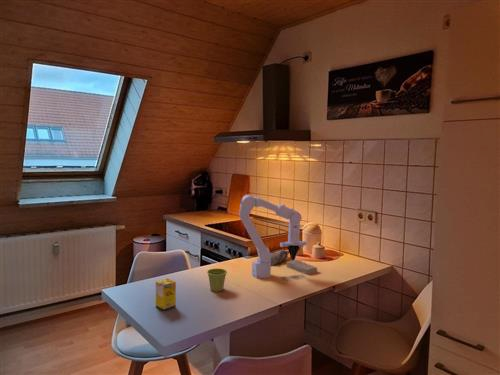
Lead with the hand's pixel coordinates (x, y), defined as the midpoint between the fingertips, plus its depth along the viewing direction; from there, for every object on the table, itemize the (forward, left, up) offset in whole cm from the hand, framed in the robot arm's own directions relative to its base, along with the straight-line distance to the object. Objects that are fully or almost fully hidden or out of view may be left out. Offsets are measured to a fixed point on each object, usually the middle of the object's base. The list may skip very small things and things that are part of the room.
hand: (292, 259), depth 196 cm
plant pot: (-42, -3, -10) cm, 43 cm away
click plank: (-1, -9, -10) cm, 13 cm away
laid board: (-1, -3, -10) cm, 10 cm away
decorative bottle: (+6, +26, -10) cm, 29 cm away
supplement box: (-68, -15, -10) cm, 71 cm away
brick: (+10, +7, -10) cm, 16 cm away
